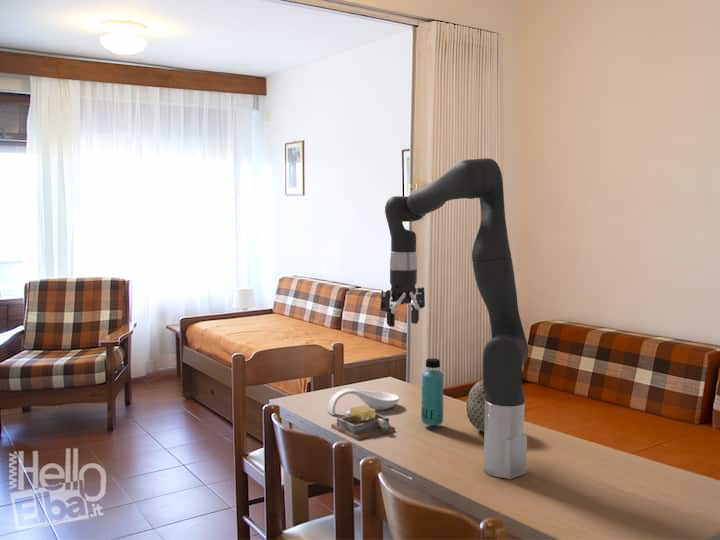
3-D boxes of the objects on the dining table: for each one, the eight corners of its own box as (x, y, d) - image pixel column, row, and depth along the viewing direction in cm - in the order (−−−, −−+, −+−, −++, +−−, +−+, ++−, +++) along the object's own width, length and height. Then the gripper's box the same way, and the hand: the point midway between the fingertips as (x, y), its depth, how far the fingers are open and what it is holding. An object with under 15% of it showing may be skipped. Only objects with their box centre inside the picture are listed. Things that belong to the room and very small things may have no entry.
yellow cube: (375, 426, 188) (375, 409, 187) (361, 429, 185) (361, 412, 185) (364, 421, 192) (364, 405, 192) (350, 425, 189) (350, 408, 189)
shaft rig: (397, 432, 186) (397, 419, 186) (360, 441, 179) (360, 428, 178) (365, 418, 199) (365, 406, 198) (329, 426, 191) (329, 414, 191)
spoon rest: (388, 400, 218) (388, 379, 217) (406, 410, 207) (406, 387, 207) (322, 409, 208) (322, 387, 207) (337, 420, 197) (337, 397, 197)
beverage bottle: (443, 423, 194) (444, 356, 192) (443, 431, 187) (444, 361, 185) (420, 422, 194) (421, 356, 193) (420, 430, 188) (421, 361, 186)
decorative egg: (470, 438, 181) (471, 385, 180) (462, 425, 193) (463, 374, 191) (512, 438, 181) (514, 385, 180) (502, 424, 193) (503, 374, 192)
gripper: (413, 265, 192) (413, 320, 194) (375, 268, 184) (374, 325, 185) (431, 267, 186) (430, 324, 188) (392, 270, 178) (391, 329, 179)
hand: (402, 324), depth 187 cm, fingers open, 8 cm apart
